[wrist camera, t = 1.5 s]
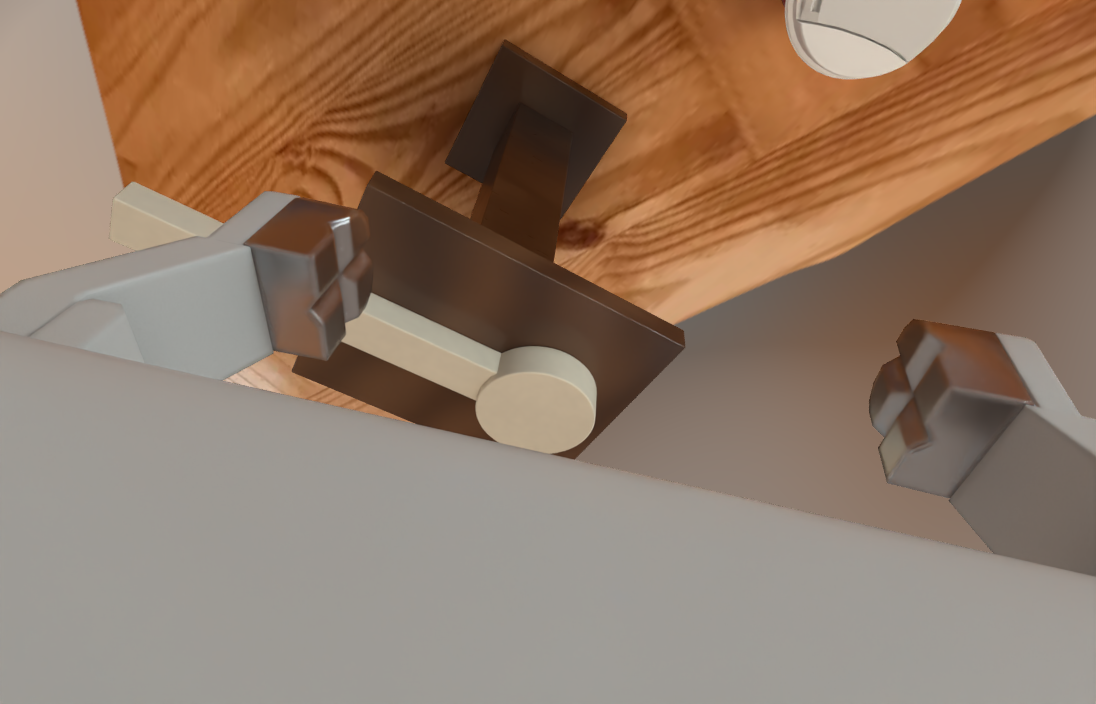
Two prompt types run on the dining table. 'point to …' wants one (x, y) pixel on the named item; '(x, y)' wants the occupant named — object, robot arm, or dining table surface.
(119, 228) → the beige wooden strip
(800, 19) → the paper cup
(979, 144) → the dining table surface
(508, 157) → the stand
